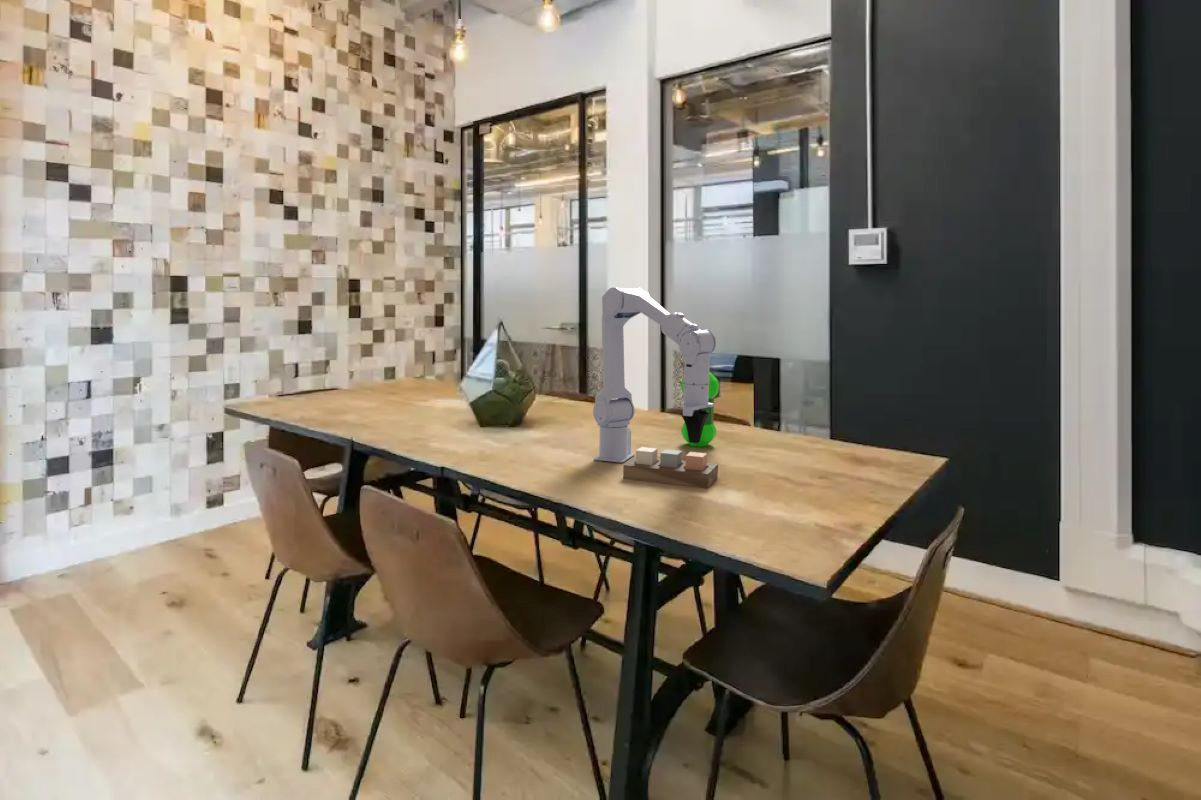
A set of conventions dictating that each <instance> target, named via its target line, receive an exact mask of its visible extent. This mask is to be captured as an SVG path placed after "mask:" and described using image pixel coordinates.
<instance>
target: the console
mask: <svg viewBox="0 0 1201 800" xmlns="http://www.w3.org/2000/svg"><path fill="white" fill-rule="evenodd" d="M685 464H686V460H683V459H682V465H681V466H680V467H679V468H673V467H664V466H660V457H657V463H656V464H655V465H645V464H636V456H635V457H633V458H632V459H630V460H629V461H627V462H626V463H624V464H623V469H622V470H623V475H622V476H623V477H622V478H623V479H625V480H627V479H628V480H633V481H634V480H636V481H642V482H643V481H645V482H652V483H661V484H670V485H678V486H679V485H680V486H686V487H695V488H704V489H708V488H710V486H711V485H712V484H713V483H714V482H715V481H716V479H717V478H718V475H719V464H718V463H712V462H711V463H710V462H707V469H705V470H704V471H702V470H692V469H685Z"/></svg>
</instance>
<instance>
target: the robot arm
mask: <svg viewBox="0 0 1201 800" xmlns="http://www.w3.org/2000/svg"><path fill="white" fill-rule="evenodd" d="M601 302H602V303H601V304H602V308H601V309H602V310H601V311H602V312H601V313H602V315H601V339H602V341H601V345H602V346H601V347H602V348H601V349H602V377H603V379H602V382H603V387H602V388H601V390H600V391H599V392H597V394H596V395H595V396H594V401H595V402H594V405H593V409H592V414H593V418H594V420H595V423H596V424H597V426H599V454H598V455H597V456H595V457H593V460H594V461H601V462H602V461H603V462H611V463H612V462H613V463H619V464H621V463H624V462H626V461H627V460H629V459H630V458H632V457H634V456H635V453H634V452H632V430H631V428H630V426H629V425H630V424H631V423H630V422H631V421H632V419H633V418H634V416H635V412H636V411H635V405H634V403H633V397H632V396H633V395H632V393H631V392H630V391H629V390H628V389H627V388H626V387H625V384H626V383H625V380H626V379H625V343H624V342H625V341H624V340H625V339H624V335H625V334H624V326H625V325H626V323H627V322H629V321H630V320H631V319H633V318H635V317H636V316H637V315H639V314H643V315H644V316H646V317H647V318H649V319H651V320H652V322H655V323H656V324H658V325H660V330H661V332H662V334H664V335H665V336H666V337H667V338H669V339H670V340H671V341H673V342H674V343H675V344H676V345H678V347H679V351H680V353H681V354H682V355H681V356H682V361H683V379H684V390H683V393H682V394H683V396H682V403H681V405H682V411H681V414H680V415H681V417H682V419H683V422H685V424H686V428H687V432H688V438H689V442H691V443H699V442H700V439H701V435H702V431H703V427H704V424H705V421H706V419H707V417H708V415H709V411H706V410H702V408H707V407H713V406H714V407H715V402H714V403H709V402H708V400H709V372H710V367H711V365H710V363H711V354H712V353H714V351H715V350H716V349H715V348H716V345H717V341H716V337H715V335H714V334H713V332H711V330H710V329H707V328H706V329H705V328H702V329H700V328H699V325H698V324H696V323H692V322H691V321H690V320H688V319H686V318H685V314H684V313H682V312H671V313H670V312H669V311H667V309H665V308H664V307H663V306H662V305H660V304H659V303H658V302H657V301H656V300H654V299H653V298H652V297H651V296H650V293H649V292H648V291H645V290H644V289H643V288H641V287H634V288H629V287H626V288H625V287H609V289H607V290H606V291H605V293H604V294H603V295H602V296H601Z"/></svg>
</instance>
